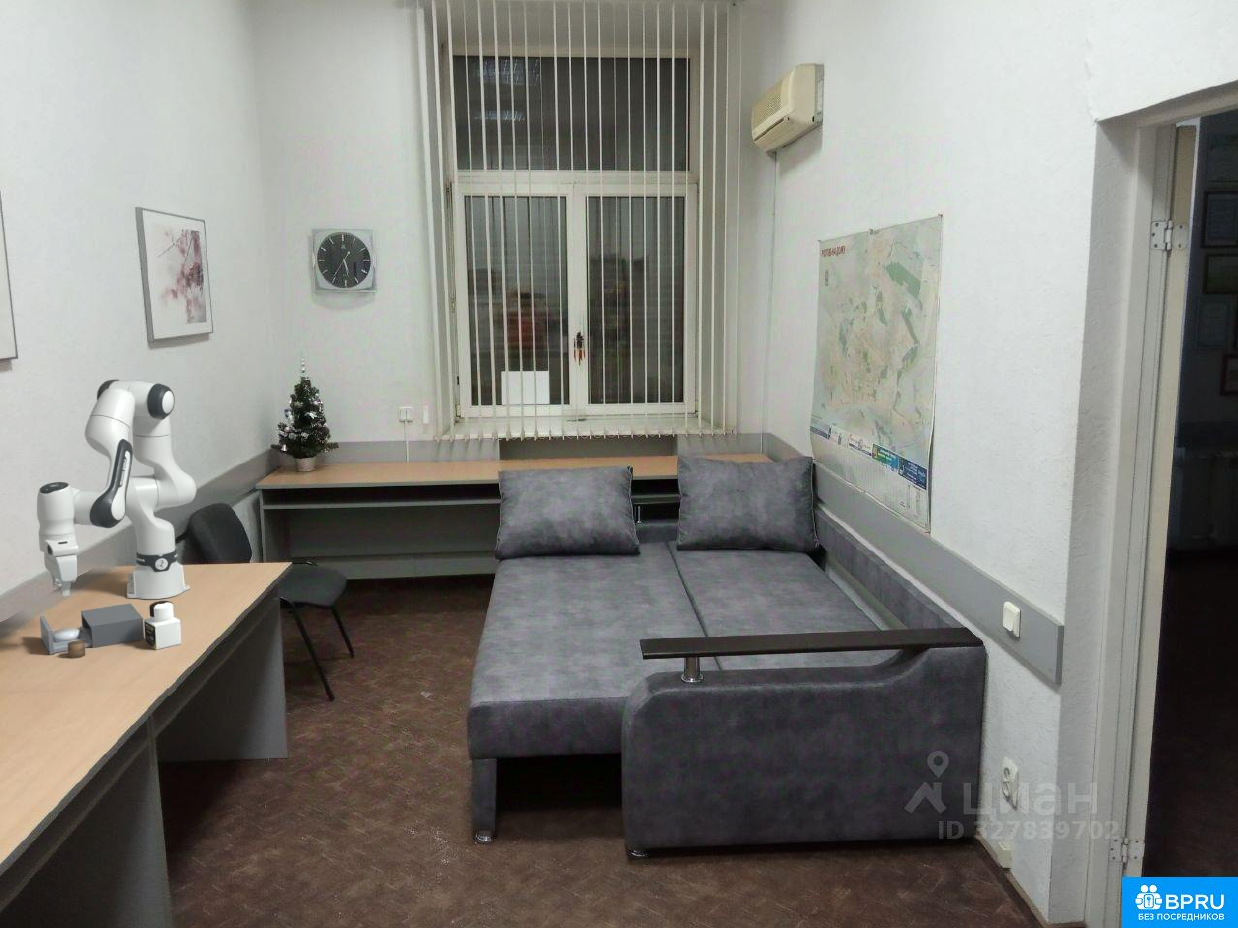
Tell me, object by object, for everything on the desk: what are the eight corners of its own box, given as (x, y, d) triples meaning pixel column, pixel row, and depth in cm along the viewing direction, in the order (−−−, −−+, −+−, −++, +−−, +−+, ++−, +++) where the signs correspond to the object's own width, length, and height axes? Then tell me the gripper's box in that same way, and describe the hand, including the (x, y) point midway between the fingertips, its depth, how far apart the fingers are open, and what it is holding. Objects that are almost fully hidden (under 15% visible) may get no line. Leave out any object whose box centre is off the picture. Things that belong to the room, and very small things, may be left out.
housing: (82, 631, 286) (80, 610, 285) (131, 623, 294) (130, 603, 293) (92, 647, 273) (91, 626, 272) (144, 639, 281) (142, 617, 280)
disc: (52, 637, 277) (51, 630, 277) (78, 633, 281) (77, 626, 280) (55, 644, 272) (54, 637, 272) (81, 639, 276) (81, 633, 275)
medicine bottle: (145, 643, 278) (142, 602, 276) (170, 637, 283) (168, 597, 281) (155, 650, 273) (153, 608, 271) (181, 644, 278) (179, 602, 276)
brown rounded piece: (67, 654, 268) (66, 642, 267) (84, 651, 270) (83, 639, 270) (69, 659, 265) (68, 646, 264) (86, 656, 267) (85, 643, 267)
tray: (41, 638, 280) (39, 615, 278) (93, 629, 287) (91, 607, 286) (49, 654, 267) (48, 631, 266) (104, 645, 275) (102, 622, 274)
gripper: (36, 536, 277) (39, 584, 279) (53, 551, 262) (57, 602, 264) (61, 533, 281) (64, 580, 284) (80, 548, 266) (83, 598, 268)
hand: (61, 591), depth 274 cm, fingers open, 8 cm apart
